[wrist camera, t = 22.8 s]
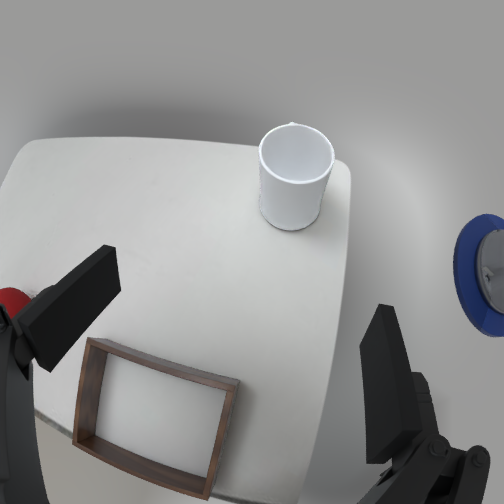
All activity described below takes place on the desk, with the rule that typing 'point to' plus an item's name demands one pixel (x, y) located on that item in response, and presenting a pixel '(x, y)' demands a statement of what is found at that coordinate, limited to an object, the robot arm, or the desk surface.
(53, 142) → the desk surface
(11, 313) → the apple
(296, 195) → the mug
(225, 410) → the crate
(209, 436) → the desk surface
